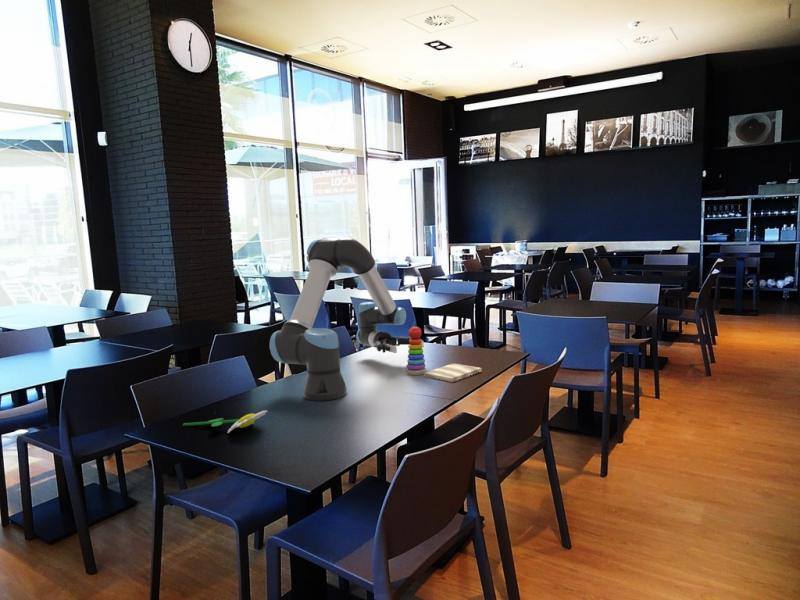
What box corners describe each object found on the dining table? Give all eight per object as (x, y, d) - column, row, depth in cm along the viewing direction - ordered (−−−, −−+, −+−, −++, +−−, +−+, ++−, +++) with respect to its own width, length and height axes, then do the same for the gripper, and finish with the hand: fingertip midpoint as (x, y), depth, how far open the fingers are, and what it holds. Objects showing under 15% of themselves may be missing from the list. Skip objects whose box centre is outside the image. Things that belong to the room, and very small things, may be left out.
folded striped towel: (452, 382, 205) (451, 378, 204) (424, 376, 214) (424, 372, 214) (481, 371, 217) (481, 368, 217) (453, 366, 227) (453, 363, 227)
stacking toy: (426, 375, 216) (424, 328, 214) (406, 376, 216) (404, 329, 214) (426, 370, 224) (424, 324, 222) (406, 371, 224) (404, 325, 222)
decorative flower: (170, 440, 166) (253, 434, 156) (167, 424, 166) (250, 418, 156) (199, 427, 178) (278, 422, 168) (197, 413, 178) (275, 406, 168)
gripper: (404, 343, 248) (433, 350, 231) (356, 353, 234) (384, 361, 217) (403, 327, 247) (433, 333, 230) (355, 335, 233) (383, 342, 216)
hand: (409, 346), depth 223 cm, fingers open, 13 cm apart
